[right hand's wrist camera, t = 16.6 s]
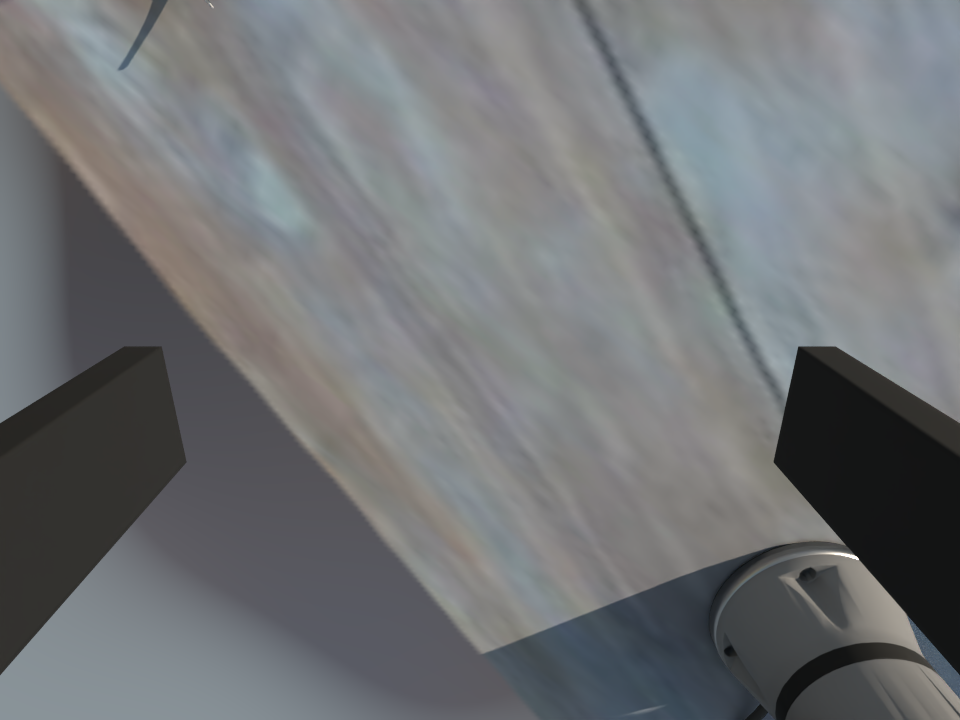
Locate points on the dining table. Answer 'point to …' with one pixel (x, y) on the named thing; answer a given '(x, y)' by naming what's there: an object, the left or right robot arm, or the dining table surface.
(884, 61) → the dining table surface
